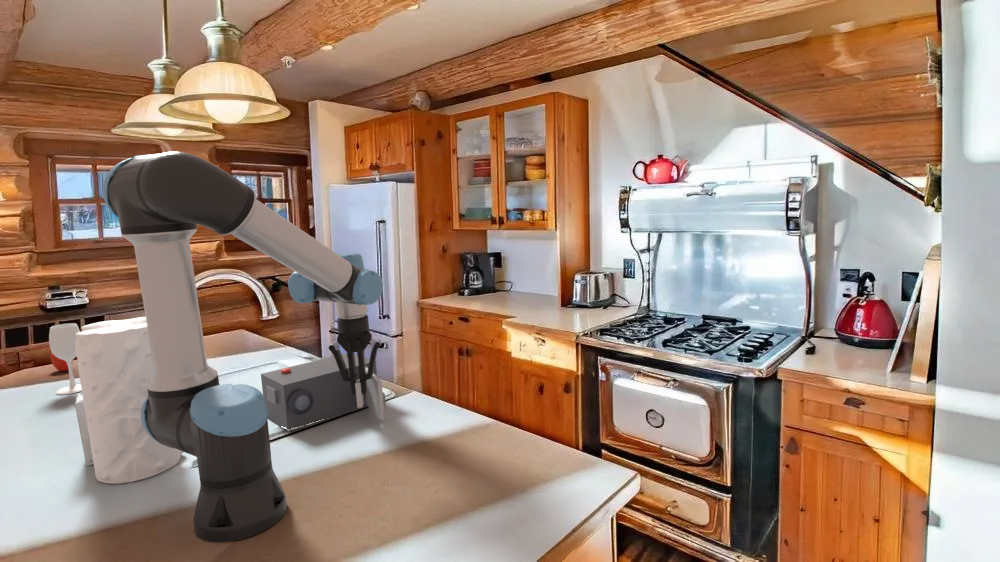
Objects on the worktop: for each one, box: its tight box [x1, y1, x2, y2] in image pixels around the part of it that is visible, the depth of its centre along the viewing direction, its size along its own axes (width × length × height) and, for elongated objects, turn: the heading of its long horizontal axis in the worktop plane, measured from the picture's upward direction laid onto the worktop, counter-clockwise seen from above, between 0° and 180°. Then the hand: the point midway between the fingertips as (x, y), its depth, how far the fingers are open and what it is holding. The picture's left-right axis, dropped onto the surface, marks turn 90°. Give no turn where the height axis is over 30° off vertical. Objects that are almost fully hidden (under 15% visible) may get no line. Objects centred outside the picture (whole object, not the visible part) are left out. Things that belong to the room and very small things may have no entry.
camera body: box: [260, 352, 378, 429], centre depth 149 cm, size 16×27×13 cm, turn 134°
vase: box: [75, 316, 184, 485], centre depth 119 cm, size 17×16×32 cm
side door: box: [364, 366, 387, 421], centre depth 145 cm, size 2×15×10 cm, turn 28°
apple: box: [50, 352, 74, 372], centre depth 198 cm, size 6×6×8 cm
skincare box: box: [74, 393, 94, 466], centre depth 126 cm, size 8×6×15 cm
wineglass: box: [48, 322, 82, 396], centre depth 175 cm, size 9×9×21 cm
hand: (360, 405), depth 142 cm, fingers closed
